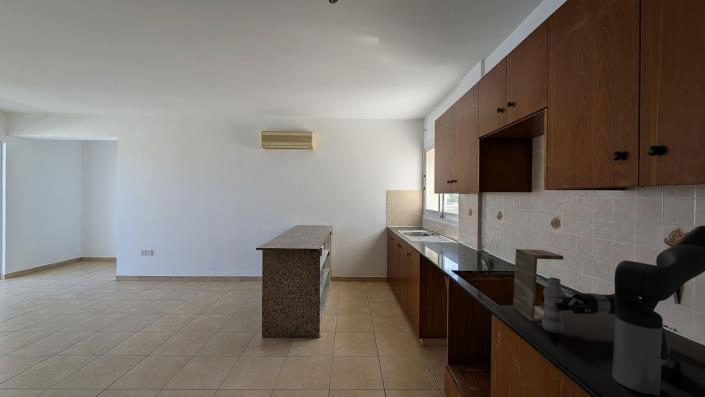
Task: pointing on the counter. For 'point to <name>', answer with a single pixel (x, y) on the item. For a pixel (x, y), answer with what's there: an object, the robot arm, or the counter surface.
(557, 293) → the plastic bottle
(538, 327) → the counter surface
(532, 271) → the cubby shelf
